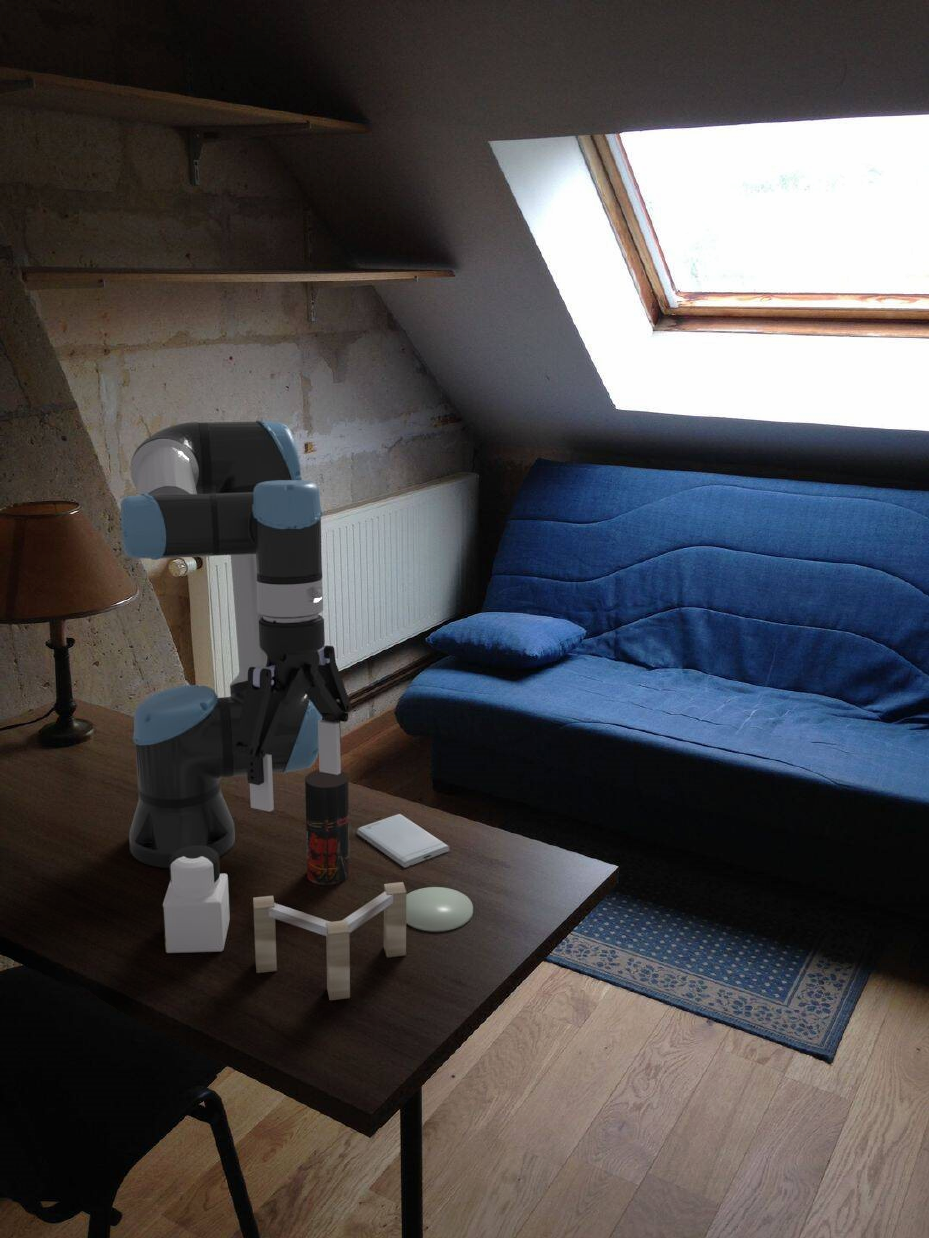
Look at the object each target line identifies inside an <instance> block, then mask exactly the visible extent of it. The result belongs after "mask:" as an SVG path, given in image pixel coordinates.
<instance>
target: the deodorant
mask: <svg viewBox="0 0 929 1238" xmlns="http://www.w3.org/2000/svg"><path fill="white" fill-rule="evenodd" d="M349 785H350V784H349V775H348V774H347V772H345V771H342V770H341V773H340V774H338V775H336V774H330V773H325V772H320V771H319V769H317V770H314V771H311V772H308V773H307V774H306V775H305V778H304V786H305V787H304V788H305V789H304V792H305V793H304V794H305V796H304V797H305V798H304V799H305V835H306V837H305V838H306V871H307V872H306V875H307V879H308V881H310V882H311V883H313V884H315V885H319V886H334V885H338V884H341V883H344V882H345V881H346V880H348V878H349V876H350V815H349V814H350V813H349V812H350V808H349V807H350V803H349V800H350V799H349V797H350V796H349V795H350V793H349V787H350V786H349Z"/></svg>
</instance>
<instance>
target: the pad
mask: <svg viewBox="0 0 929 1238" xmlns="http://www.w3.org/2000/svg"><path fill="white" fill-rule="evenodd" d="M473 914H474V906H473V902H472V900H471V899H470V898H469V897H468V896H467V895H466V894H464V893H463V892H460V891H459V890H455V889H454V888H453V889H452V888H449V887H442V886H441V887H440V886H429V887H423V888H418V889H415V890H413V891H411V892H409V893H408V892H407V893H406V925H408V926H410V927H412V928H413V929H417V930H421V931H425V932H435V933H437V932H439V933H440V932H447V931H452V930H454V929H459V928H460V927H462V926H464V925H465V924H467V923H468V922H469V921H470V920H471V918H472V917H473Z"/></svg>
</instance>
